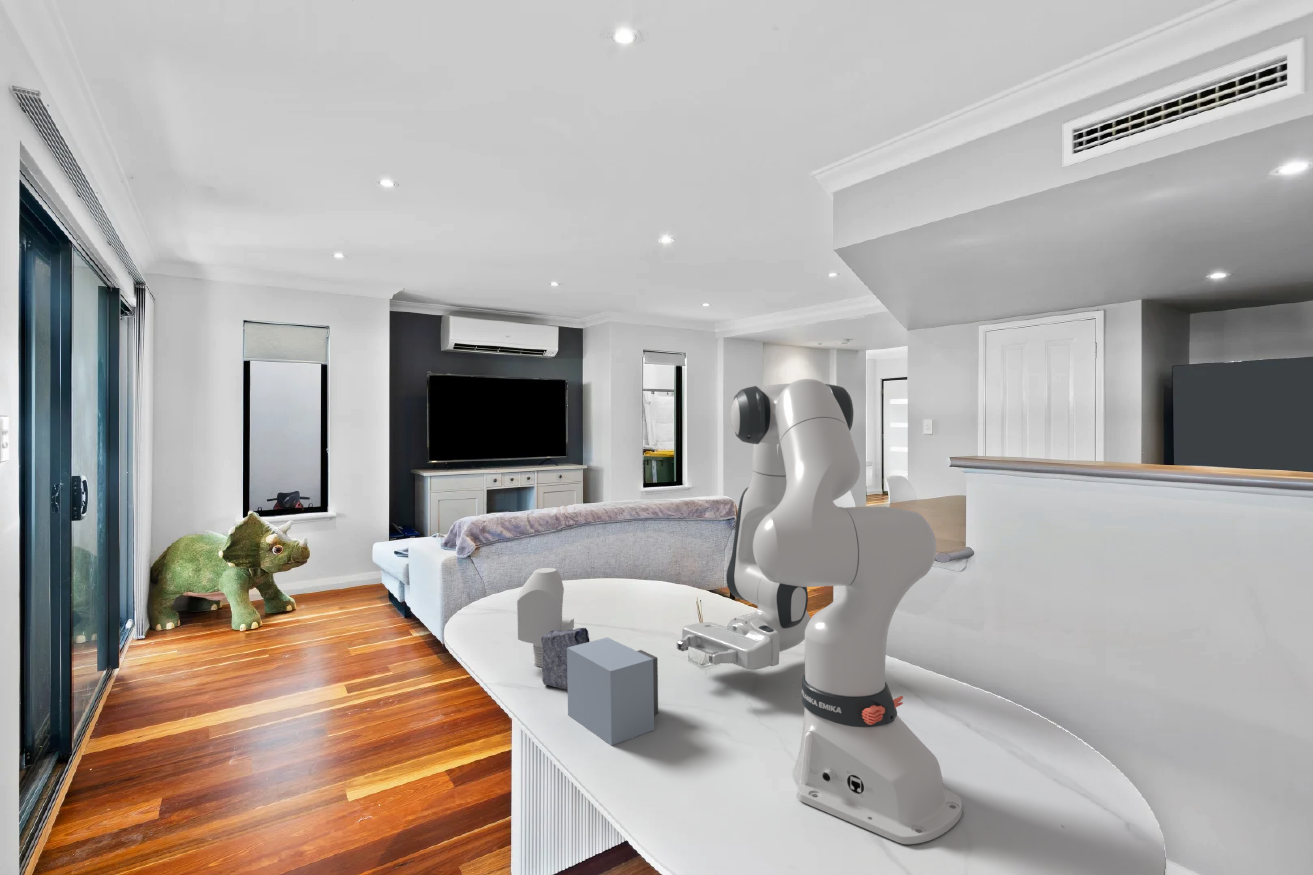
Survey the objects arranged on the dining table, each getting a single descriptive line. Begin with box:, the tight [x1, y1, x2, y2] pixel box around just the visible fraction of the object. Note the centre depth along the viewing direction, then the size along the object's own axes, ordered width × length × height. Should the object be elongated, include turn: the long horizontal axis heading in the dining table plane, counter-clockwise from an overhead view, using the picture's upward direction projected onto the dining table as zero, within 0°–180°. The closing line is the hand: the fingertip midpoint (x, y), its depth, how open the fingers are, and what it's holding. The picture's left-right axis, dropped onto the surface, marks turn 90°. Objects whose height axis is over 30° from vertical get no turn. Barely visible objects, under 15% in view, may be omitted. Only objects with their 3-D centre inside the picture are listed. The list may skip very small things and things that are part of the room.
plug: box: [636, 649, 659, 716], centre depth 115 cm, size 5×8×10 cm, turn 127°
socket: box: [567, 637, 655, 746], centre depth 112 cm, size 14×9×12 cm, turn 37°
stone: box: [541, 627, 591, 691], centre depth 130 cm, size 12×10×10 cm
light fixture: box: [516, 567, 575, 668], centre depth 140 cm, size 9×9×20 cm
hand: (694, 652), depth 123 cm, fingers open, 8 cm apart
